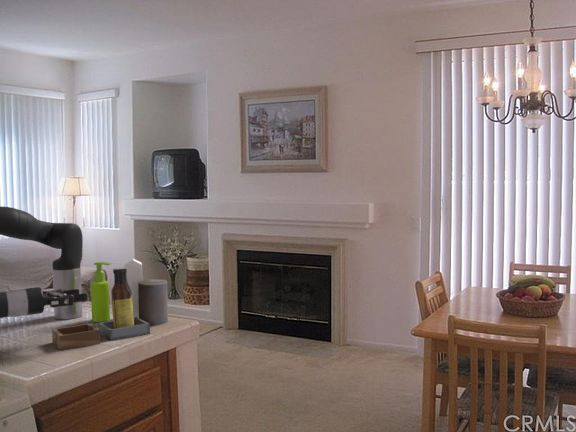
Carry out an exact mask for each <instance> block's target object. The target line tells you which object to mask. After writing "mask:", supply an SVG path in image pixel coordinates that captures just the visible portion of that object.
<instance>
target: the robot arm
mask: <svg viewBox="0 0 576 432" xmlns="http://www.w3.org/2000/svg"><path fill="white" fill-rule="evenodd" d="M0 236H3V237H8V238H12V239H18V240H23V241H32V242H37V243H40V244H43V245H45V246H47V247H50V248H53V249H57V250H61V251H60V257H58V258H56V259H54V260H52V290H43V289H42V287H40V286H37V287H29V288H28V287H27V288H18V289H12V290H9V291H3V292H0V319H5V318H17V317H24V316H32V315H38V314H43V313H44V311H45V306H50V308H52V309H53V311H54V312H53V313H54V314H53V315H54V316H53V318H54V319H56V320H70V319H75V318H80V317H81V316H83V302H87V301H88V294H87V293H84V292H83V293H82V273H81V269H82V268H81V264H82V260H83V242H84V241H83V238H84V237H83V231H82V229H81V227H80V226H79V225H78V224H76V223H74V222H72V223H71V222H70V223H69V222H49V221H44V220H41V219H38V218H36V217H35V216H34V215H32V214H31V213H29V212H27V211H24V210H21V209H18V208H15V207H9V206H0Z"/></svg>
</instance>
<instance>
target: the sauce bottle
mask: <svg viewBox="0 0 576 432" xmlns="http://www.w3.org/2000/svg"><path fill="white" fill-rule="evenodd" d="M112 270H113V271H112V274H113V277H114V281H113V282H114V283H113V287H112V288H111V309H112V321H113V326H114V329H117V328H123V327H129V326H134V314H133V300H132V292H131V289H130V287H129V284H128V282H127V275H126V273H127V268H124V267H115V268H113V269H112Z"/></svg>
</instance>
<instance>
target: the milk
mask: <svg viewBox="0 0 576 432" xmlns="http://www.w3.org/2000/svg"><path fill="white" fill-rule="evenodd" d="M131 255H132V256H134V253H133V254H131ZM123 266H124V267H123V268H127V273H126V275H127V282H128V284H129V287H130V289H131V292H132V300H133V314H134V317H137V318H139V295H138V282H140V281H144V278H143V263H142V262H141V261H139V260H137V259H135V258H134V257H132V258H131V259H129V260H128V261H126V262H124V265H123Z"/></svg>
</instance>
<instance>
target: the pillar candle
mask: <svg viewBox="0 0 576 432" xmlns="http://www.w3.org/2000/svg"><path fill="white" fill-rule="evenodd" d="M138 295H139V319H141V320H143V321H145V322H147V323H149V324H150V326H160V325H163V324H167V323H168V321H169V318H168V317H169V304H168V303H169V302H168V280H166V279H153V277H152V278H151V279H145V280H144V279H143V281H140V282H138Z"/></svg>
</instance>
